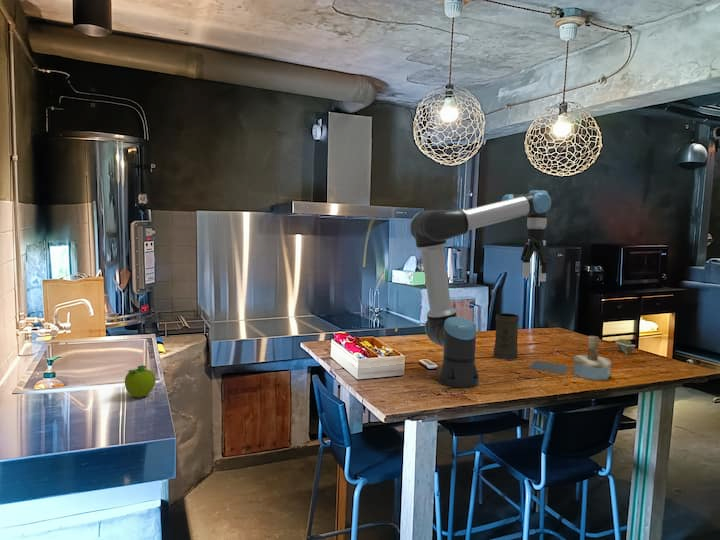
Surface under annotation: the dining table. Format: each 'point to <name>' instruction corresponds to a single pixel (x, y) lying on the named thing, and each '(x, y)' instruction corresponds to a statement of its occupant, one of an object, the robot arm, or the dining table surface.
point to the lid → (592, 356)
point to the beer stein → (506, 336)
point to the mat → (549, 367)
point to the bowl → (591, 372)
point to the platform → (625, 346)
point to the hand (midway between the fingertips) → (533, 279)
